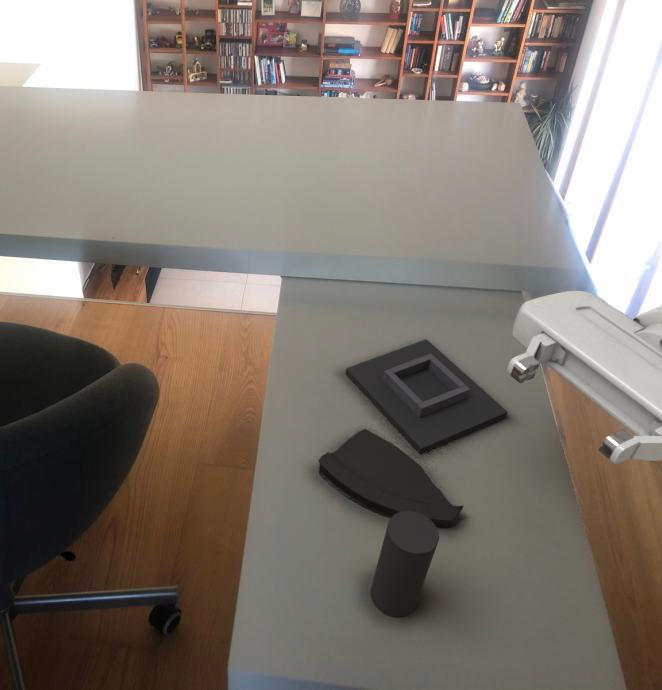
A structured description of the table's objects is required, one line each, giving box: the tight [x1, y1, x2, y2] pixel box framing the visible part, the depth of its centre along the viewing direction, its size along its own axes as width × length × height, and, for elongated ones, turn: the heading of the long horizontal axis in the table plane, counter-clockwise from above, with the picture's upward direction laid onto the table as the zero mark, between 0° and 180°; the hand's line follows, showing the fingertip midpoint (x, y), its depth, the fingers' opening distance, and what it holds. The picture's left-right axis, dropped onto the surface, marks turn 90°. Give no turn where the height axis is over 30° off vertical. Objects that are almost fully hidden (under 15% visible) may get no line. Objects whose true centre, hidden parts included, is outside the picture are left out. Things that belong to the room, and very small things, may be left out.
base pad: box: [345, 339, 508, 455], centre depth 80 cm, size 14×12×2 cm
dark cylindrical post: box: [370, 511, 440, 618], centre depth 59 cm, size 4×4×10 cm
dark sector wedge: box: [318, 428, 464, 528], centre depth 70 cm, size 8×14×2 cm, turn 41°
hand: (558, 409), depth 54 cm, fingers open, 8 cm apart
